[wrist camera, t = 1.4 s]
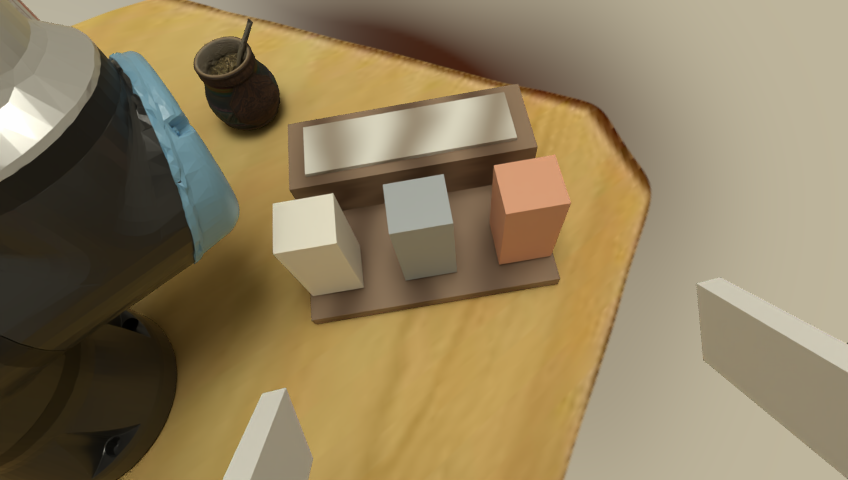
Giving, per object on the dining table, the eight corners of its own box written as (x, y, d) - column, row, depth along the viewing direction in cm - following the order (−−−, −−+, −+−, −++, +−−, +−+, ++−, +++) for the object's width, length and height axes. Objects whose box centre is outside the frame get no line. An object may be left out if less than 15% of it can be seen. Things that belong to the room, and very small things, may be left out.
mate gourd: (210, 114, 52) (156, 40, 43) (266, 76, 54) (226, -2, 45) (244, 151, 49) (195, 80, 41) (302, 110, 51) (267, 34, 42)
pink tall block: (499, 264, 40) (506, 214, 32) (489, 223, 42) (493, 165, 34) (550, 256, 40) (571, 203, 32) (538, 214, 42) (555, 154, 33)
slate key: (405, 280, 40) (388, 234, 32) (400, 238, 42) (382, 184, 34) (457, 271, 40) (453, 223, 32) (449, 230, 42) (443, 174, 34)
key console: (315, 324, 41) (290, 301, 35) (308, 162, 48) (286, 121, 42) (557, 283, 40) (572, 253, 35) (512, 126, 48) (518, 80, 42)
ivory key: (313, 296, 40) (273, 254, 32) (311, 253, 42) (272, 203, 34) (363, 287, 40) (336, 243, 32) (359, 245, 42) (333, 193, 34)
